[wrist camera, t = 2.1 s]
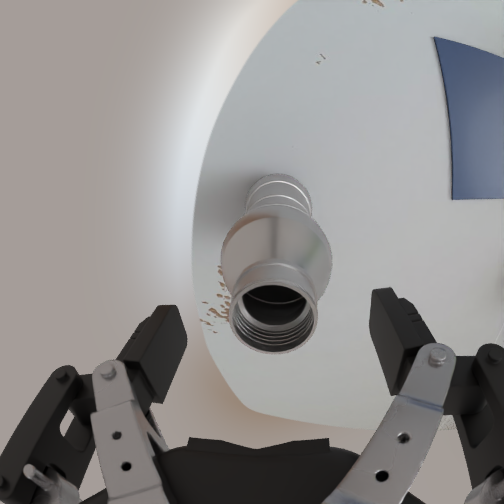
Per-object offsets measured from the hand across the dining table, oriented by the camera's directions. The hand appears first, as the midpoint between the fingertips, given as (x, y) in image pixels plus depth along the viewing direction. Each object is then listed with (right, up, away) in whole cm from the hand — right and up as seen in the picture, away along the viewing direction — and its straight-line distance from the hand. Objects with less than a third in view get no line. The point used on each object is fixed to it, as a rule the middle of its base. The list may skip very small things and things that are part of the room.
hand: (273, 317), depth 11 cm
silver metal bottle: (+2, +8, +18) cm, 20 cm away
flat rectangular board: (+29, +19, +10) cm, 36 cm away
